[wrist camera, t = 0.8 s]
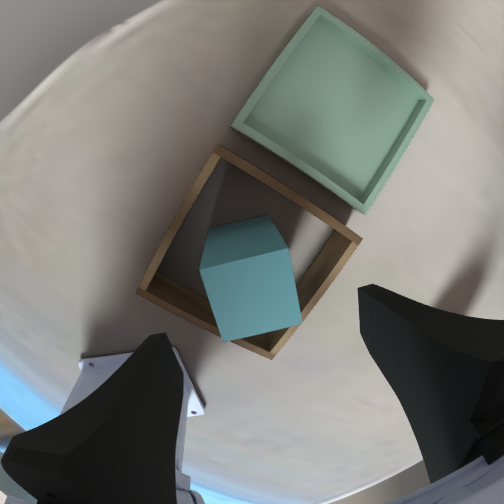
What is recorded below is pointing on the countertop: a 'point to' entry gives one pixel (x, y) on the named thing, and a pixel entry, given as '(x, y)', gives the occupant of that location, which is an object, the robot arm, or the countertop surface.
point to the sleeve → (307, 288)
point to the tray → (336, 110)
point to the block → (249, 279)
